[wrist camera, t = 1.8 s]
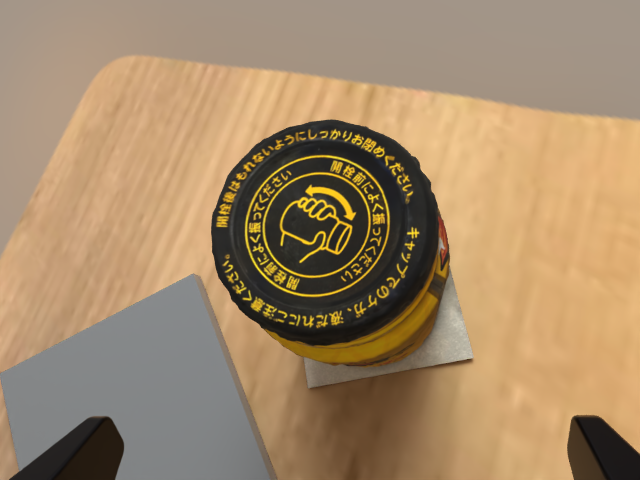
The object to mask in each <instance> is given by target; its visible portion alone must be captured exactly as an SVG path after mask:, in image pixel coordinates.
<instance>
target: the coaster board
mask: <svg viewBox="0 0 640 480" xmlns="http://www.w3.org/2000/svg"><path fill="white" fill-rule="evenodd" d="M0 379H1V384H2V389H3V394H4V398H5V403H6V408H7V413H8V418H9V423H10V428H11V433H12V438H13V443H14V447H15V452H16V457H17V462H18V467H19V471H21V470H22V469H23V468H24V467H26V466H27V465H28V464H30V463H31V462H32V461H33V460H35V459H36V458H37V457H38V456H40V455H41V454H42V453H44V452H45V451H46V450H47V449H49V448H50V447H51V446H52V445H54V444H55V443H56V442H58V441H59V440H60V439H61V438H63V437H64V436H65V435H67V434H68V433H69V432H70V431H72V430H73V429H74V428H75V427H77V426H78V425H79V424H81V423H82V422H83V421H84V420H86V419H87V418H89V417H92V416H108V417H110V418H111V419H112V420H113V422H114V424H115V425H116V427H117V429H118V431H119V433H120V435H121V437H122V439H123V441H124V453H123V457H122V460H121V463H120V466H119V469H118V472H117V475H116V479H115V480H277V477H276V474H275V472H274V469H273V466H272V464H271V461H270V459H269V456H268V453H267V451H266V448H265V445H264V443H263V440H262V437H261V435H260V432H259V430H258V427H257V424H256V422H255V419H254V416H253V414H252V411H251V409H250V406H249V403H248V401H247V398H246V395H245V393H244V390H243V387H242V385H241V382H240V380H239V377H238V374H237V372H236V369H235V366H234V364H233V361H232V359H231V356H230V353H229V351H228V348H227V345H226V343H225V340H224V337H223V335H222V332H221V330H220V327H219V324H218V322H217V319H216V316H215V314H214V311H213V309H212V306H211V303H210V301H209V298H208V295H207V293H206V290H205V288H204V285H203V282H202V280H201V277H200V276H198V275H195V274H191V275H189V276H187V277H185V278H184V279H182V280H180V281H178V282H176V283H174V284H172V285H170V286H168V287H166V288H164V289H162V290H160V291H158V292H156V293H155V294H153V295H151V296H149V297H147V298H145V299H143V300H141V301H139V302H137V303H135V304H133V305H131V306H129V307H128V308H126V309H124V310H122V311H120V312H118V313H116V314H114V315H112V316H110V317H108V318H106V319H104V320H102V321H101V322H99V323H97V324H95V325H93V326H91V327H89V328H87V329H85V330H83V331H81V332H79V333H77V334H75V335H73V336H72V337H70V338H68V339H66V340H64V341H62V342H60V343H58V344H56V345H54V346H52V347H50V348H48V349H46V350H45V351H43V352H41V353H39V354H37V355H35V356H33V357H31V358H29V359H27V360H25V361H23V362H21V363H19V364H17V365H16V366H14V367H12V368H10V369H8V370H6V371H4V372H2V373H0Z"/></svg>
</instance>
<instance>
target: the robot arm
mask: <svg viewBox="0 0 640 480" xmlns="http://www.w3.org/2000/svg"><path fill="white" fill-rule="evenodd" d="M567 451H568V458H569V462H570V466H571V470H572V474H573V478H574V480H640V454H639V453H638V452H637V451H636V450H635V449H634V448H633V447H632V446H631V445H630V444H629V443H628V442H627V441H625V440H624V439H623V438H622V437H621V436H620V435H619V434H618V433H617V432H616V431H615V430H614V429H613V428H612V427H611V426H609V425H608V424H607V423H606V422H605V421H604V420H603V419H602V418H600V417H598V416H595V415H576V416H574V417H573V418H572V420H571V424H570V431H569V438H568V444H567ZM123 453H124V441H123V439H122V437H121V435H120V433H119V431H118V429H117V427H116V425H115V424H114V422H113V420H112V419H111V418H110V417H108V416H92V417H89V418H87V419H86V420H84V421H83V422H82V423H81V424H79V425H78V426H77V427H75V428H74V429H73V430H72V431H70V432H69V433H68V434H67V435H65V436H64V437H63V438H61V439H60V440H59V441H58V442H56V443H55V444H54V445H52V446H51V447H50V448H49V449H47V450H46V451H45V452H44V453H42V454H41V455H40V456H38V457H37V458H36V459H35V460H33V461H32V462H31V463H30V464H28V465H27V466H26V467H24V468H23V469H22V470H21V471H19V472H18V473H17V474H15V475H14V476H13V477H12V478H10V479H9V480H115V479H116V475H117V472H118V469H119V466H120V463H121V460H122V457H123Z"/></svg>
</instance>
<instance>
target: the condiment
mask: <svg viewBox="0 0 640 480" xmlns="http://www.w3.org/2000/svg"><path fill="white" fill-rule="evenodd" d="M211 235H212V253H213V255H214V260H215V266H216V270H217V273H218V277H219V279H220V280H221V282H222V283H223V285H224V286H225V287H226V288H227V290H228V291H229V293H230V296H231V299H232V301H233V302H235V303H236V305H237V306H238V308H239V309H240V310H241V311H242V312H243V313H244V314H245V315H246V316H248V317H249V318H250V319H252V320H253V321H255V322H257V323H258V324H259V325H260V326H261V328H263V329H264V330H265V331H266V332H267V333H268V334H269V335H270V336H271V337H272V338H274V339H275V340H277V341H278V342H279V343H280V344H281V345H282V346H284V347H286V348H287V349H289V350H291V351H292V352H294V353H295V354H297V355H299V356H302V357H303V358H304V363H305V370H306V377H307V386H308V388H313V387H318V386H323V385H329V384H335V383H340V382H345V381H351V380H356V379H362V378H367V377H373V376H378V375H384V374H389V373H394V372H400V371H405V370H411V369H416V368H422V367H427V366H433V365H437V364H443V363H449V362H454V361H460V360H465V359H471V358H474V356H473V353H472V349H471V345H470V341H469V338H468V334H467V330H466V327H465V323H464V319H463V316H462V312H461V308H460V304H459V300H458V297H457V293H456V289H455V285H454V281H453V278H452V274H451V270H450V266H449V262H450V254H449V244H448V238H447V234H446V229H445V226H444V222H443V220H442V218H441V215H440V211H439V209H438V205H437V202H436V199H435V195H434V194H433V192H432V191H431V182H430V180H429V179H428V178H427V177H426V175H425V174H424V173H423V172H422V171H421V169H420V163H419V161H418V160H417V158H416V157H413V156H411V154H410V153H409V152H408V151H407V150H406V149H405V148H404V147H402V146H401V145H400V144H399V143H398V142H396V141H395V140H393V139H391V138H389V137H387V136H385V135H383V134H380V133H378V132H375V131H373V130H371V129H369V128H368V127H364V126H360V125H354V124H350V123H346V122H343V121H339V120H323V121H314V122H308V123H305V124H302V125H298V126H292V127H288V128H286V129H284V130H282V131H280V132H278V133H276V134H273V135H272V136H270V137H268V138H266V139H264V140H262V141H261V142H260V143H258V144H256V145H255V146H254V147H253V148H252V149H251V150H250V152H249V153H248V154H247V155H246V156H245V157H244V158H242V159H241V161H240V162H239V163H238V164H237V165H236V166H235V167H234V168H233V170H232V171H231V172H230V173H229V175H228V176H227V179H226V182H225V184H224V187H223V189H222V192H221V194H220V196H219V199H218V203H217V205H216V208H215V210H214V212H213V215H212V226H211Z"/></svg>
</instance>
